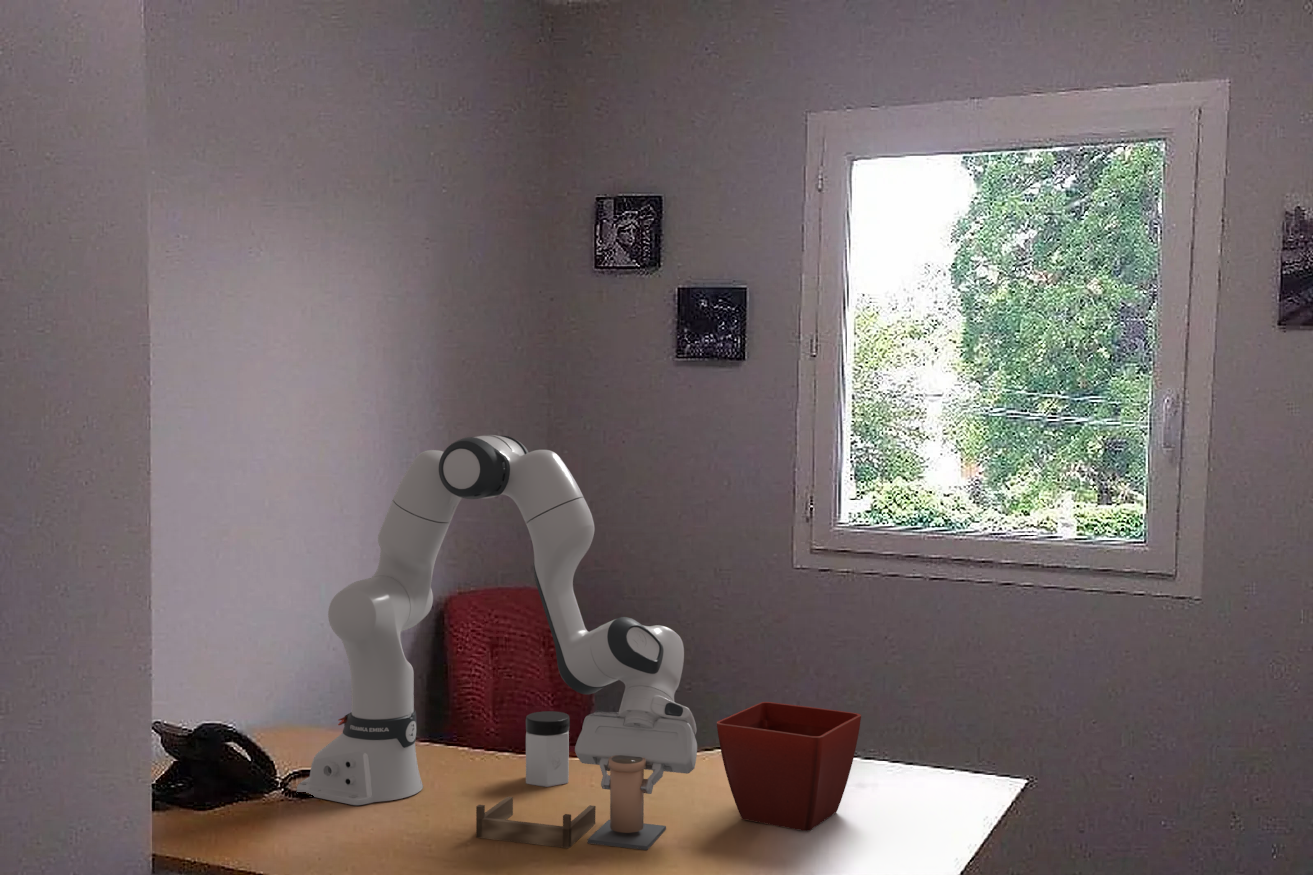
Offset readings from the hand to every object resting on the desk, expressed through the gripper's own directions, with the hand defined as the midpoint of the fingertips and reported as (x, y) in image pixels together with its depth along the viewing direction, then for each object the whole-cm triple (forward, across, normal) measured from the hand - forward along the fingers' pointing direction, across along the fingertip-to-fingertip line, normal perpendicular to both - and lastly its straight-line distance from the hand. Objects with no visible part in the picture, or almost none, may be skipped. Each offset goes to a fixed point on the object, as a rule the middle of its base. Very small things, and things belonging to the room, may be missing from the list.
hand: (625, 789), depth 193 cm
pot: (+4, 0, +5) cm, 6 cm away
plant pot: (-8, +23, +19) cm, 31 cm away
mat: (+5, 0, +6) cm, 8 cm away
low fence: (+6, -15, +5) cm, 17 cm away
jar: (-12, -24, +23) cm, 35 cm away
